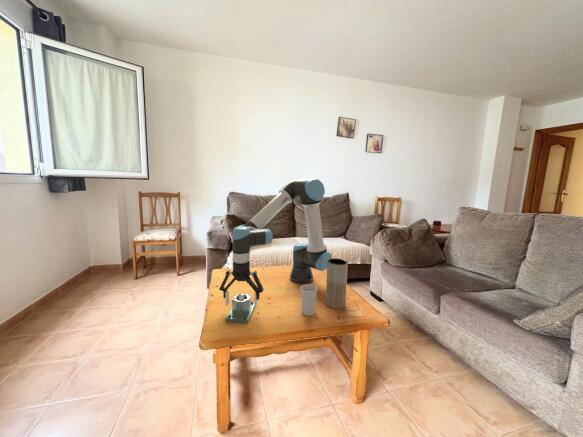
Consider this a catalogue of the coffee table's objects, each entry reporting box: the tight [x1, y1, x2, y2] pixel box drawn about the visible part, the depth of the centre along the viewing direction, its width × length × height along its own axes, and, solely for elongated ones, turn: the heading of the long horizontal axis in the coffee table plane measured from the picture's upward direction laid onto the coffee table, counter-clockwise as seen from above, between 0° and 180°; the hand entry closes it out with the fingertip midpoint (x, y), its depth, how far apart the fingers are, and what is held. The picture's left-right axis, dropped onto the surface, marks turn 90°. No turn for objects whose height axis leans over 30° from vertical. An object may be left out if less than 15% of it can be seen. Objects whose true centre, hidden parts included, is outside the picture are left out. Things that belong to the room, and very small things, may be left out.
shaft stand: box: [224, 292, 256, 324], centre depth 110 cm, size 10×16×9 cm, turn 176°
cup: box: [299, 284, 318, 316], centre depth 112 cm, size 8×8×12 cm
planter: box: [325, 257, 349, 310], centre depth 120 cm, size 10×10×23 cm
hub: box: [231, 293, 252, 314], centre depth 110 cm, size 8×8×6 cm
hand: (241, 305), depth 110 cm, fingers open, 13 cm apart
